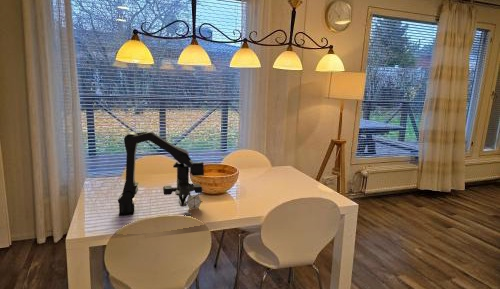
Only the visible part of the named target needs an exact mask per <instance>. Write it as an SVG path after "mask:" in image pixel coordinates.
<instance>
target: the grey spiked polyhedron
mask: <svg viewBox="0 0 500 289" xmlns="http://www.w3.org/2000/svg"><path fill="white" fill-rule="evenodd" d="M187 197H188V198H186V206H187V207H188V211H190V210H198V211H199V210H200V205H201V203H203V200H202V199H201V198H200V193H197V194H190V195H188V196H187Z"/></svg>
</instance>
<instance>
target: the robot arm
mask: <svg viewBox="0 0 500 289" xmlns="http://www.w3.org/2000/svg"><path fill="white" fill-rule="evenodd" d="M147 141H149V142H151V143H152V144H154V145H155V146H156V147H159V148H160V149H162V150H164V151H165V152H166V153H169V155H171V157H173V159H174V160H176V162H175V163H174V164H173V165H172V167H173V168H175V169H176V187H172V185H164V186H162V193H163V195H165V196H169V195H172V193H175V196H176V197H177V196H178V199H179V198H180V201H181V204H182V207H183V206H185V205H184V202H185V200H186V201H187V197H189V195H191V192H195V193H196V194H198V193H199V194H200V193H203V187H202V185H201V184H200V183H196V184H194V183H190V182H189V181H190V179H189V178H190V177H189V176H190V175H191V176H193V177H199V176H200V177H203V176H204V175H205V168H204V167H205V166H204V162H203V161H200V162H198V161H197V162H194V161H193V160H192V158H191V157H190V155H189V154H190V153H189V152H188V150H185V149H183V148H182V147H178V146H175V145H174V144H171V143H170V142H169V141H167V140H165V139H164V138H163V137H161V136H159V135H158V134H156V133H155V132H154V131H152V130H148V131H144V132H142V131H141V132H134V131H130V132H128V133H127V134H126V135H125V136H124V139H123V142H124V147H125V151H126V160H125V161H126V162H125V163H126V164H125V166H126V167H125V181H124V186H123V189H122V193H121V194H120V196H119V197H118V199H117V202H118V210H119V213H118V216H119V217H120V216H121V217H122V216H132V215H134V213H135V202H134V201H133V200H134V198H135V196H136V195H137V194H138V191H139V188H138V186H139V182H136V179H135V175H136V174H135V173H136V156H137V155H136V152H137V148H138V145H139V144H141V143H143V142H147ZM182 197H183V198H182Z"/></svg>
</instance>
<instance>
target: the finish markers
mask: <svg viewBox="0 0 500 289" xmlns="http://www.w3.org/2000/svg"><path fill="white" fill-rule="evenodd" d="M182 198H183V196H182ZM178 202H179V205H180V206H182V204H181V201H180V198H179V197H178ZM186 202H187V199H186V200H185V202H184V205H183V206H187V203H186ZM183 206H182V207H183ZM184 215H186V216H191V217H192V213H191V212H190V211H188V212H183V216H184Z"/></svg>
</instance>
